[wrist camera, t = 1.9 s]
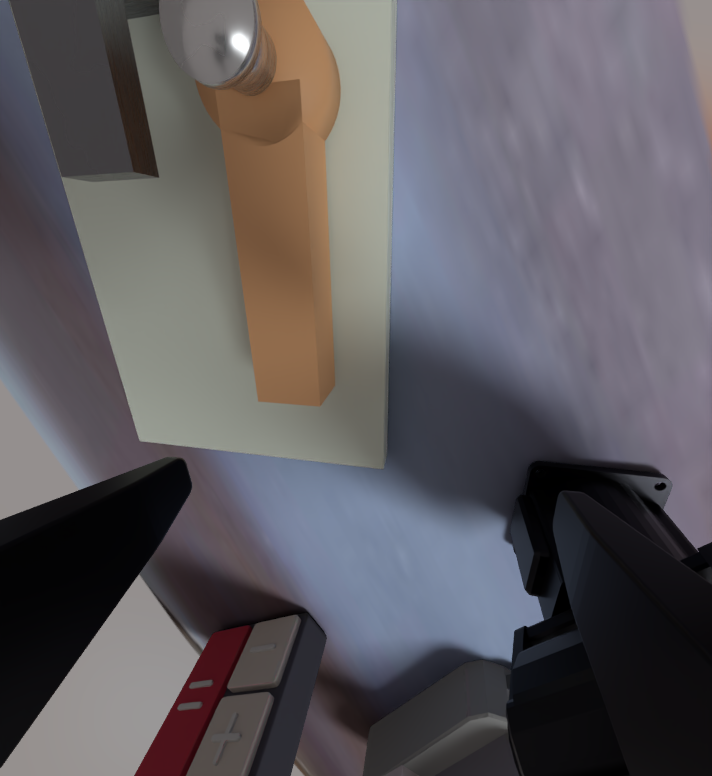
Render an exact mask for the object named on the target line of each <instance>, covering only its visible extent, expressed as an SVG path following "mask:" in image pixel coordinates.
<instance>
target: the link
mask: <svg viewBox="0 0 712 776" xmlns="http://www.w3.org/2000/svg"><path fill="white" fill-rule="evenodd" d="M257 1H258V4H259V8H260V13H261V20H262V26H263V27H264V28H265V29H266V31H267V32H268V33H269V35H270V36H271V38H272V40H273V43H274V46H275V50H276V56H277V65H276V72H275V75H274V78H273V80H272V82H271V84H270V86H269V87H268V88H267V89H266V90H265V91H264V92H263V93H261V94H259V95H256V96H246V95H243V94H241V93H240V92H238V91H237V90H236V89H234V88H230V89H226V90H216V89H212V88H209V87H206V86H205V85H203V84H201V83H200V82H198V81H197V80H195V82H196V86H197V89H198V92H199V95H200V98H201V100H202V103H203V105H204V107H205V109H206V110H207V112H208V114H209V115H210V117H211V118H212V120H213V121H214V122H215V124H216V125H217V126H218V127H219V128H220V129H221V136H222V143H223V150H224V158H225V165H226V172H227V179H228V187H229V194H230V201H231V208H232V216H233V223H234V230H235V237H236V245H237V252H238V259H239V266H240V274H241V281H242V288H243V295H244V303H245V310H246V317H247V324H248V332H249V339H250V346H251V353H252V361H253V368H254V375H255V382H256V390H257V397H258V402H270V403H282V404H294V405H306V406H318V407H320V406H321V405H322V403H323V402H324V401H325V399H326V398H327V396H328V395H329V394H330V392H331V391H332V389H333V388H334V387H335V367H334V343H333V320H332V296H331V273H330V249H329V226H328V202H327V179H326V155H325V140H326V139H327V137H328V136H329V134H330V133H331V131H332V128H333V126H334V124H335V121H336V118H337V115H338V111H339V106H340V98H341V84H340V75H339V70H338V66H337V63H336V59H335V57H334V54H333V52H332V50H331V48H330V46H329V45H328V43H327V41H326V39H325V37H324V36H323V34H322V32H321V30H320V29H319V27H318V25H317V23H316V21H315V20H314V18H313V16H312V14H311V13H310V11H309V9H308V7H307V6H306V4H305V2H304V0H257Z"/></svg>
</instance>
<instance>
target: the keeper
mask: <svg viewBox="0 0 712 776" xmlns="http://www.w3.org/2000/svg"><path fill="white" fill-rule="evenodd" d="M9 2H10V5H11V9H12V12H13V15H14V19H15V22H16V25H17V29H18V32H19V36H20V39H21V42H22V46H23V49H24V52H25V56H26V59H27V62H28V66H29V69H30V73H31V76H32V79H33V83H34V86H35V89H36V93H37V96H38V99H39V103H40V106H41V110H42V113H43V116H44V120H45V123H46V126H47V130H48V133H49V136H50V140H51V143H52V147H53V150H54V153H55V157H56V160H57V163H58V167H59V170H60V173H61V177H65V178H71V179H77V180H82V181H88V182H102V181H118V180H133V179H149V178H159V173H158V168H157V163H156V158H155V153H154V148H153V144H152V139H151V134H150V129H149V124H148V119H147V114H146V109H145V104H144V99H143V94H142V89H141V85H140V80H139V75H138V70H137V65H136V60H135V55H134V50H133V45H132V40H131V35H130V30H129V26H128V21H127V20H128V19H134V18H140V17H145V16H151V15H157V14H159V16H160V24H161V29H162V33H163V36H164V40H165V43H166V45H167V47H168V50H169V52H170V53H171V55H172V57H173V59H174V60H175V62H176V63H177V64H178V65H179V67H180V68H181V69H182V70H183V71H184V72H185V73H186V74H188V75H189V76H191V77H192V78H194V79H195V80H197V81H198V82H200V83H201V84H203V85H205V86H206V87H209V88H212V89H216V90H226V89H230V88H234V89H236V90H237V91H238V92H240V93H241V94H243V95H246V96H256V95H259V94H261V93H263V92H264V91H265V90H266V89H267V88H268V87H269V86H270V84H271V82H272V80H273V78H274V75H275V72H276V65H277V56H276V50H275V46H274V43H273V40H272V38H271V36H270V35H269V33H268V32H267V31H266V29H265V28H264V27H263V26H262V20H261V13H260V8H259V4H258V1H257V0H9Z"/></svg>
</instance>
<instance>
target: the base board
mask: <svg viewBox="0 0 712 776" xmlns="http://www.w3.org/2000/svg"><path fill="white" fill-rule="evenodd" d="M8 1H9V0H8ZM304 2H305V4H306V6H307V7H308V9H309V11H310V13H311V14H312V16H313V18H314V20H315V21H316V23H317V25H318V27H319V29H320V30H321V32H322V34H323V36H324V37H325V39H326V41H327V43H328V45H329V46H330V48H331V50H332V52H333V54H334V57H335V59H336V63H337V66H338V70H339V75H340V84H341V98H340V106H339V111H338V115H337V118H336V121H335V124H334V126H333V128H332V131H331V133H330V134H329V136H328V137H327V139H326V140H325V155H326V179H327V202H328V226H329V249H330V273H331V296H332V320H333V343H334V367H335V387H334V388H333V389H332V391H331V392H330V394H329V395H328V396H327V398H326V399H325V401H324V402H323V403H322V405H321V406H320V407H318V406H306V405H294V404H282V403H270V402H258V397H257V390H256V382H255V375H254V368H253V361H252V353H251V346H250V339H249V332H248V324H247V317H246V310H245V303H244V295H243V288H242V281H241V274H240V266H239V259H238V252H237V245H236V237H235V230H234V223H233V216H232V208H231V201H230V194H229V187H228V179H227V172H226V165H225V158H224V150H223V143H222V136H221V129H220V128H219V127H218V126H217V125H216V124H215V122H214V121H213V120H212V118H211V117H210V115H209V114H208V112H207V110H206V109H205V107H204V105H203V103H202V100H201V98H200V95H199V92H198V89H197V86H196V82H195V79H194V78H192V77H191V76H189V75H188V74H186V73H185V72H184V71H183V70H182V69H181V68H180V67H179V65H178V64H177V63H176V62H175V60H174V59H173V57H172V55H171V53H170V52H169V50H168V47H167V45H166V43H165V40H164V36H163V33H162V29H161V24H160V16H159V14H157V15H151V16H145V17H140V18H134V19H128V20H127V21H128V26H129V30H130V35H131V40H132V45H133V50H134V55H135V60H136V65H137V70H138V75H139V80H140V85H141V89H142V94H143V99H144V104H145V109H146V114H147V119H148V124H149V129H150V134H151V139H152V144H153V148H154V153H155V158H156V163H157V168H158V173H159V178H149V179H133V180H118V181H102V182H88V181H82V180H77V179H71V178H65V177H61V178H62V182H63V185H64V189H65V192H66V195H67V199H68V202H69V205H70V209H71V212H72V215H73V219H74V222H75V225H76V229H77V232H78V236H79V239H80V242H81V246H82V249H83V252H84V256H85V259H86V262H87V266H88V269H89V272H90V276H91V279H92V283H93V286H94V289H95V293H96V296H97V299H98V303H99V306H100V309H101V313H102V316H103V320H104V323H105V326H106V330H107V333H108V336H109V340H110V343H111V346H112V350H113V353H114V356H115V360H116V363H117V367H118V370H119V373H120V377H121V380H122V383H123V387H124V390H125V393H126V397H127V400H128V403H129V407H130V410H131V414H132V417H133V420H134V424H135V427H136V430H137V434H138V437H139V440H140V441H144V442H153V443H162V444H170V445H179V446H187V447H196V448H204V449H213V450H221V451H230V452H239V453H247V454H256V455H264V456H273V457H281V458H290V459H299V460H307V461H316V462H324V463H333V464H341V465H350V466H358V467H367V468H376V469H384V465H385V461H386V457H387V435H388V389H389V343H390V296H391V250H392V204H393V158H394V112H395V66H396V19H397V0H304ZM9 4H10V2H9ZM10 7H11V5H10ZM11 11H12V9H11ZM12 14H13V12H12ZM13 17H14V15H13ZM14 21H15V19H14ZM15 24H16V22H15ZM16 27H17V25H16ZM17 31H18V29H17ZM18 34H19V32H18ZM19 37H20V36H19ZM20 41H21V39H20ZM21 44H22V42H21ZM22 48H23V46H22ZM23 51H24V49H23ZM24 54H25V52H24ZM25 58H26V56H25ZM26 61H27V59H26ZM27 64H28V62H27ZM28 68H29V66H28ZM29 71H30V69H29ZM30 74H31V73H30ZM31 78H32V76H31ZM32 81H33V79H32ZM33 84H34V83H33ZM34 88H35V86H34ZM35 91H36V89H35ZM36 95H37V93H36ZM37 98H38V96H37ZM38 101H39V99H38ZM39 105H40V103H39ZM40 108H41V106H40ZM41 111H42V110H41ZM42 115H43V113H42ZM43 118H44V116H43ZM44 121H45V120H44ZM45 125H46V123H45ZM46 128H47V126H46ZM47 131H48V130H47ZM48 135H49V133H48ZM49 138H50V136H49ZM50 142H51V140H50ZM51 145H52V143H51ZM52 148H53V147H52ZM53 152H54V150H53ZM54 155H55V153H54ZM55 158H56V157H55ZM56 162H57V160H56ZM57 165H58V163H57ZM58 168H59V167H58ZM59 172H60V170H59ZM60 175H61V173H60Z"/></svg>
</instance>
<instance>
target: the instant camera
mask: <svg viewBox="0 0 712 776" xmlns="http://www.w3.org/2000/svg"><path fill="white" fill-rule="evenodd" d="M510 677H511V670H509V669H507V668H506V667H504V666H502V665H499V664H496V663H492V662H489V661H486V660H483V659H482V660H477V661H472V662H467V663H464V664H463V665H461V666H460V667H458V668H457V669H455V670H454V671H452V672H451V673H449V674H448V675H446V676H445V677H443V678H442V679H440V680H439V681H437V682H436V683H434V684H433V685H431V686H430V687H428V688H427V689H426V690H424V691H423V692H421V693H420V694H418V695H417V696H415V697H414V698H412V699H411V700H409V701H408V702H406V703H405V704H403V705H402V706H400V707H399V708H397V709H396V710H394V711H393V712H391V713H390V714H388V715H387V716H386V717H384V718H383V719H381V720H380V721H378V722H377V723H375V724H374V725H372V726H371V727H370V730H369V735H368V743H367V750H366V757H365V764H364V771H363V776H519V774H518V771H517V768H516V765H515V762H514V758H513V754H512V750H511V747H510V743H509V735H508V728H507V718H506V703H507V701H508V700H509V689H510Z"/></svg>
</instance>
